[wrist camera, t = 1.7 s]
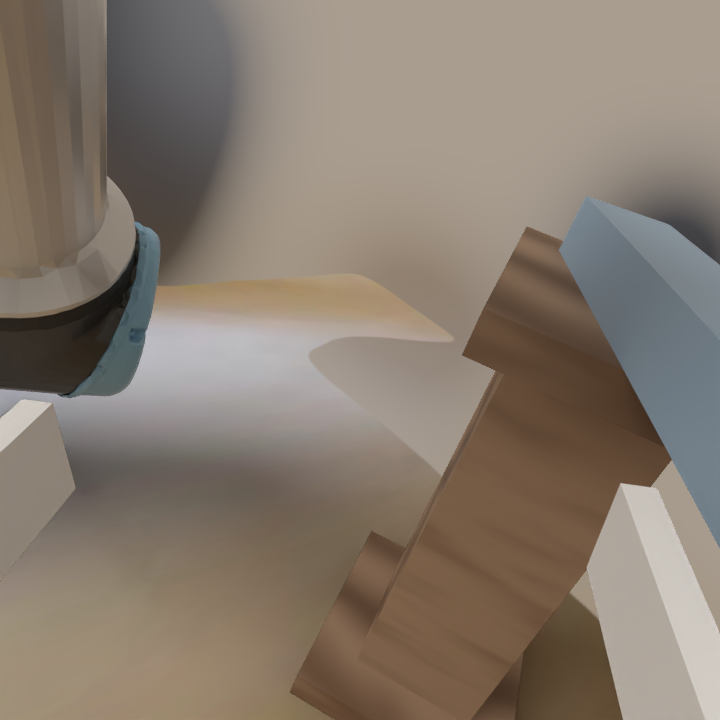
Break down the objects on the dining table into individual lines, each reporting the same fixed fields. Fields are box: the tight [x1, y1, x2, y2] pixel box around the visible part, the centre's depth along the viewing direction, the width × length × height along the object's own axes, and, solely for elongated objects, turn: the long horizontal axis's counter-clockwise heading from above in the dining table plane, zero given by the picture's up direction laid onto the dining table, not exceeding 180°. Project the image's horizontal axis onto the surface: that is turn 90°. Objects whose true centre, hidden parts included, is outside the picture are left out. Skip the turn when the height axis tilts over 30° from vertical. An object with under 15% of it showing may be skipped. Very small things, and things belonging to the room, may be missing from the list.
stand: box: [290, 227, 672, 720], centre depth 33 cm, size 16×14×30 cm
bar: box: [559, 196, 720, 548], centre depth 19 cm, size 24×4×3 cm, turn 171°
